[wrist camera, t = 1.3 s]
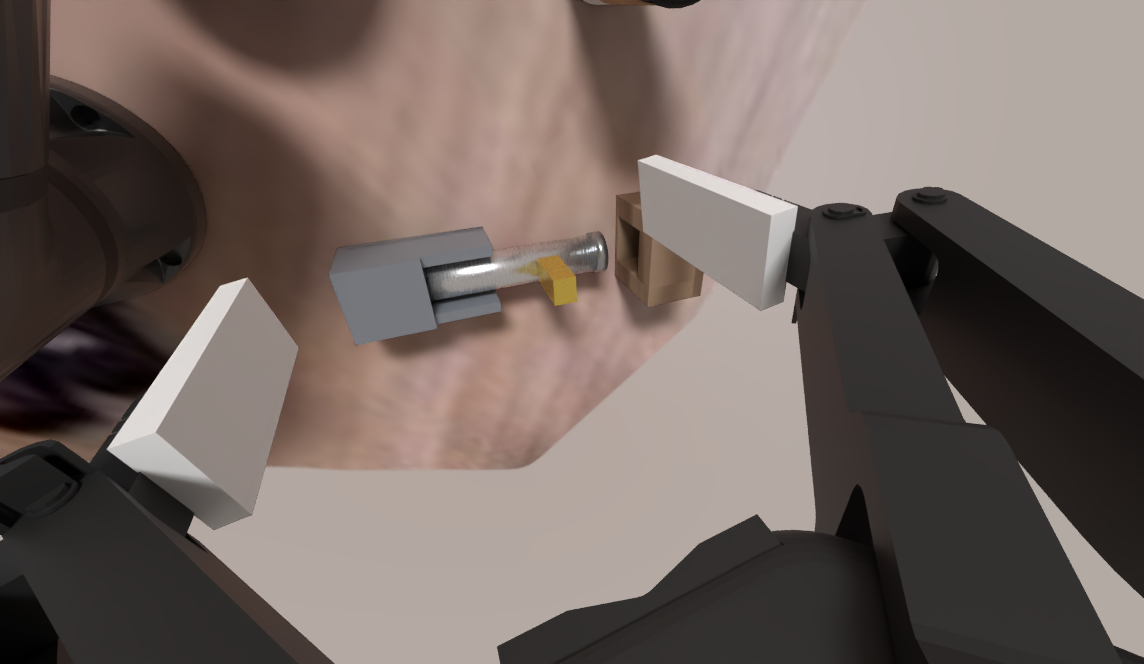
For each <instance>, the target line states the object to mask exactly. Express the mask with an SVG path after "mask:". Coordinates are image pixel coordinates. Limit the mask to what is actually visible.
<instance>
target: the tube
mask: <svg viewBox="0 0 1144 664" xmlns="http://www.w3.org/2000/svg"><path fill="white" fill-rule="evenodd" d="M607 266H608V249H607V245H606V241H605V239H604V237H603V235H602V233H601V232H599V231H597V232H591V233H587V234H586V235H585V236H579V237H573V238H567V239H561V240H555V241H548V242H542V243H536V244H530V245H524V246H518V247H512V248H505V249H499V250H493V256H490V257H484V258H478V259H472V260H466V261H460V262H454V263H448V264H442V265H436V266H430V267H424V268H423V272H424V276H425V280H426V284H427V288H428V292H429V296H430V300H431V301H435V300H441V299H446V298H451V297H457V296H462V295H467V294H473V293H478V292H484V291H489V290H494V289H500V288H505V287H510V286H516V285H521V284H527V283H532V282H537V281H539V282H540V284H541V285H542V287H543V288H544V290H545V291H546V293H547V294H548V296H549V298H550V299H551V301H552V302H553V304H554V305H555V306H557V305H562V304H567V303H572V302H577V291H576V276H575V274H580V273H586V272H591V271H592V272H593V273H597V272H602V271H605V270H606V269H607Z"/></svg>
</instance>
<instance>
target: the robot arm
mask: <svg viewBox="0 0 1144 664" xmlns="http://www.w3.org/2000/svg"><path fill="white" fill-rule="evenodd" d="M638 171H639V184H640V197H641V209H642V222H643V232H644V233H646V234H647V235H649V236H650V237H652V238H653V239H655V240H656V241H658V242H659V243H661V244H662V245H664V246H665V247H667V248H668V249H670V250H671V251H673V252H674V253H676V254H677V255H678V256H680V257H681V258H683V259H684V260H686V261H687V262H689V263H690V264H692V265H693V266H695V267H696V268H698V269H699V270H701V271H702V272H704V273H705V274H707V275H708V276H710V277H711V278H712V279H714V280H715V281H717V282H718V283H720V284H721V285H723V286H724V287H726V288H727V289H729V290H730V291H732V292H733V293H735V294H736V295H738V296H739V297H741V298H742V299H744V300H745V301H747V302H748V303H749V304H751V305H752V306H754V307H756V308H757V309H759V310H760V311H762V310H764V309H767V308H769V307H772V306H774V305H777V304H779V303H781V302H783V301H784V295H785V289H786V282H788V283H790V284H791V285H793V286H795V287H797V288H798V289H797V294H796V300H795V306H794V312H793V318H792V323H796V321H798V332H799V343H800V353H801V363H802V373H803V384H804V393H805V404H806V414H807V425H808V435H809V445H810V455H811V466H812V476H813V485H814V496H815V508H816V524H815V532H813V531H801V530H781V531H772V532H771V531H770V530H769V528H768V527H767V526H766V525H765V523H764V522H763V521H762V520H761V519H760V517H759V516H758V515H755V516H753V517H751V518H749V519H747V520H745V521H743V522H741V523H739V524H737V525H735V526H733V527H731V528H729V529H727V530H725V531H723V532H721V533H719V534H717V535H715V536H713V537H711V538H710V539H707V540H706V541H704V542H702V543H700V544H699V545H697V546H696V548H694V549H693V550H692V551H691V552H690V553H689V554H688V555H687V556H686V557H685V558H684V559H683V560H682V561H681V562H680V563H679V564H678V565H677V566H676V567H675V568H674V569H673V570H672V571H671V572H670V573H668V575H666V576H665V577H664V578H663V579H662V580H661V581H660V582H659V583H658V584H657V585H656V586H655V587H654V588H653V589H652V590H651V591H650V592H648V593H647V594H645V595H643V596H641V597H638V598H632V599H627V600H622V601H617V602H611V603H606V604H601V605H596V606H591V607H585V608H580V609H574V610H569V611H566V612H564V613H562V614H560V615H558V616H556V617H554V618H552V619H550V620H548V621H546V622H544V623H542V624H540V625H539V626H536V627H535V628H532V629H531V630H529V631H527V632H525V633H523V634H521V635H519V636H517V637H515V638H513V639H511V640H509V641H507V642H505V643H503V644H501V645H499V646H497V649H498V654H499V659H500V664H1144V658H1143V657H1141V656H1138V655H1136V654H1133V653H1131V652H1128V651H1126V650H1124V649H1121V648H1119V647H1116V646H1114V645H1113V644H1112V642H1111V640H1110V638H1109V636H1108V635H1107V633H1106V631H1105V629H1104V627H1103V625H1102V623H1101V621H1100V619H1099V617H1098V615H1097V613H1096V611H1095V609H1094V607H1093V606H1092V604H1091V602H1090V600H1089V598H1088V596H1087V594H1086V592H1085V590H1084V588H1083V586H1082V584H1081V582H1080V580H1079V579H1078V577H1077V575H1076V573H1075V571H1074V569H1073V567H1072V565H1071V564H1070V562H1069V559H1068V557H1067V556H1066V553H1065V552H1064V550H1063V548H1062V546H1061V544H1060V542H1059V540H1058V538H1057V536H1056V534H1055V533H1054V531H1053V528H1052V526H1051V525H1050V523H1049V521H1048V519H1047V517H1046V515H1045V513H1044V511H1043V509H1042V507H1041V505H1040V503H1039V501H1038V499H1037V498H1036V496H1035V494H1034V492H1033V490H1032V488H1031V486H1030V484H1029V482H1028V480H1027V478H1026V477H1025V474H1024V472H1023V471H1022V469H1021V467H1020V465H1019V463H1020V464H1021V465H1022V466H1023V467H1024V469H1025V470H1026V471H1027V472H1028V473H1029V474H1030V475H1031V477H1032V478H1033V479H1034V480H1035V481H1036V483H1037V484H1038V485H1039V486H1040V487H1041V488H1042V489H1043V491H1044V492H1045V493H1046V494H1047V495H1048V497H1050V499H1051V500H1052V501H1053V502H1054V504H1055V505H1056V506H1057V507H1058V508H1059V509H1060V511H1061V512H1062V513H1063V514H1064V515H1065V516H1066V517H1067V519H1068V520H1069V521H1070V522H1071V523H1072V525H1073V526H1074V527H1075V528H1076V529H1077V530H1078V532H1079V533H1080V534H1081V535H1082V536H1083V537H1084V538H1085V539H1086V540H1087V542H1089V544H1090V545H1091V546H1092V547H1093V548H1094V549H1095V550H1096V551H1097V552H1098V553H1099V554H1100V556H1101V557H1102V558H1103V559H1104V560H1105V561H1106V562H1107V563H1108V564H1109V565H1110V566H1111V567H1112V568H1113V570H1114V571H1115V572H1117V573H1118V574H1119V575H1120V576H1121V577H1122V578H1123V579H1124V580H1125V581H1126V582H1127V583H1128V584H1129V585H1130V586H1131V587H1132V588H1133V589H1134V590H1136V591H1137V592H1138V593H1139V594H1140V595H1141V596H1142V597H1143V598H1144V299H1142V298H1140V297H1139V296H1137V295H1135V294H1133V293H1132V292H1130V291H1128V290H1126V289H1125V288H1123V287H1121V286H1119V285H1118V284H1116V283H1114V282H1112V281H1111V280H1109V279H1107V278H1105V277H1104V276H1102V275H1100V274H1099V273H1097V272H1095V271H1093V270H1092V269H1090V268H1088V267H1086V266H1085V265H1083V264H1081V263H1079V262H1078V261H1076V260H1074V259H1072V258H1071V257H1069V256H1067V255H1065V254H1063V253H1061V252H1060V251H1058V250H1057V249H1055V248H1053V247H1051V246H1050V245H1048V244H1046V243H1044V242H1042V241H1041V240H1039V239H1037V238H1035V237H1034V236H1032V235H1030V234H1029V233H1027V232H1025V231H1023V230H1022V229H1020V228H1018V227H1016V226H1015V225H1013V224H1011V223H1009V222H1008V221H1006V220H1004V219H1002V218H1001V217H999V216H997V215H995V214H994V213H992V212H990V211H988V210H987V209H985V208H983V207H982V206H980V205H978V204H976V203H974V202H973V201H971V200H969V199H968V198H966V197H964V196H962V195H961V194H958V193H955V192H953V191H948V190H943V189H942V188H939V187H934V188H933V187H924V188H920V189H912V190H907V191H904V192H902V193H899V194H898V196H897V198H896V201H895V205H894V208H893V211H892V212H889V213H883V214H877V215H872V213H871V212H870V211H869V210H868V209H867V208H864V207H862V206H859V205H853V204H848V203H834V204H826V205H822V206H818V207H816V208H815V209H813V210H811V209H808V208H805V207H803V206H800V205H797V204H794V203H792V202H789V201H786V200H783V201H782V199H781V198H778V197H775V196H773V197H772V196H771V195H769V194H767V193H764V192H761V191H758V190H752V189H749V188H747V187H744V186H741V185H738V184H736V183H733V182H730V181H727V180H725V179H722V178H719V177H716V176H714V175H711V174H708V173H705V172H703V171H700V170H697V169H694V168H692V167H689V166H686V165H683V164H681V163H678V162H675V161H673V160H670V159H667V158H664V157H662V156H659V155H654V156H650V157H647V158H644V159H640V160H638ZM205 232H206V210H205V205H204V201H203V198H202V195H201V192H200V189H199V187H198V185H197V183H196V180H195V179H194V177H193V175H192V173H191V172H190V170H189V168H188V167H187V165H186V164H185V163H184V161H183V160H182V158H181V157H180V156H179V155H178V153H177V152H176V151H175V150H174V149H173V148H172V147H171V145H170V144H169V143H168V142H167V141H166V140H165V139H164V138H163V137H162V136H161V135H160V134H159V133H157V132H156V131H155V130H154V129H153V128H152V127H150V126H149V125H148V124H147V123H145V122H144V121H143V120H142V119H140V118H139V117H137V116H136V115H135V114H133V113H132V112H130V111H129V110H127V109H126V108H124V107H123V106H121V105H119V104H118V103H116V102H114V101H112V100H111V99H109V98H107V97H105V96H103V95H101V94H99V93H97V92H95V91H93V90H91V89H89V88H86V87H84V86H82V85H79V84H76V83H74V82H71V81H68V80H65V79H63V78H60V77H56V76H53V75H50V0H0V381H1V380H3V379H4V378H5V377H6V376H8V375H9V374H10V373H11V372H13V371H14V370H15V369H16V368H17V367H19V366H20V365H21V364H22V363H24V362H25V361H26V360H27V359H29V358H30V357H31V356H32V355H34V354H35V353H36V352H37V351H38V350H40V349H41V348H42V347H43V346H45V345H46V344H47V343H48V342H50V341H51V340H52V339H53V338H55V337H56V336H57V335H58V334H60V333H61V332H62V331H63V330H64V329H66V328H67V327H68V326H69V325H71V324H72V323H73V322H74V321H76V320H77V319H78V318H79V317H81V316H82V315H83V314H84V313H86V312H87V311H88V310H89V309H90V308H93V307H97V306H101V305H105V304H110V303H114V302H118V301H122V300H127V299H131V298H135V297H138V296H141V295H144V294H147V293H149V292H152V291H154V290H156V289H158V288H160V287H162V286H163V285H165V284H167V283H168V282H170V281H171V280H172V279H174V278H175V277H176V276H177V275H178V274H179V273H180V272H182V271H183V270H184V269H185V268H186V267H187V266H188V265H189V264H190V263H191V262H192V260H193V259H194V258H195V257H196V255H197V253H198V252H199V250H200V248H201V246H202V243H203V240H204V237H205ZM937 271H938V272H937ZM936 273H937V276H936ZM298 349H299V347H298V346H297V345H296V343H295V342H294V341H293V339H292V338H291V336H290V335H289V334H288V332H287V331H286V330H285V328H284V327H283V325H282V324H281V323H280V321H279V320H278V319H277V317H276V316H275V314H274V313H273V312H272V310H271V309H270V307H269V306H268V305H267V303H266V302H265V301H264V299H263V298H262V296H261V295H260V294H259V292H258V291H257V290H256V288H255V287H254V285H253V284H252V283H251V281H250V280H249V279H248V278H244V279H241V280H238V281H234V282H231V283H228V284H224V285H221V286H220V287H219V288H218V290H217V291H216V292H215V294H214V295H213V297H212V298H211V300H210V301H209V303H208V304H207V305H206V307H205V308H204V310H203V311H202V313H201V314H200V316H199V317H198V318H197V320H196V321H195V323H194V324H193V326H192V327H191V329H190V330H189V331H188V333H187V334H186V336H185V337H184V339H183V340H182V341H181V343H180V344H179V346H178V347H177V349H176V350H175V352H174V353H173V354H172V356H171V357H170V359H169V360H168V362H167V363H166V365H165V366H164V367H163V369H162V370H161V372H160V373H159V375H158V376H157V378H156V379H155V380H154V382H153V383H152V385H151V386H150V388H149V389H148V390H146V391H145V392H144V393H143V394H142V395H141V396H140V397H138V398H137V399H136V400H135V401H134V402H133V403H132V404H131V406H130V407H129V408H128V410H127V411H126V413H125V414H124V415H123V417H122V418H121V419H122V421H120V422H118V424H117V425H116V427H115V428H114V429H113V431H112V433H113V434H112V435H109V436H108V438H107V439H106V441H105V442H104V443H103V445H102V446H101V448H100V449H99V450H98V452H97V453H96V455H95V456H94V458H93V459H92V460H91V462H90V463H88V462H87V461H85V460H84V459H83V458H81V457H80V456H78V455H77V454H75V453H74V452H73V451H71V450H70V449H68V448H67V447H66V446H64V445H63V444H61V443H60V442H58V441H54V440H46V441H41V442H36V443H34V444H31V445H29V446H26V447H23V448H21V449H18V450H16V451H14V452H13V453H11V454H9V455H7V456H5V457H3V458H1V459H0V535H2V537H3V540H1V541H0V664H334V663H333V662H332V661H331V660H330V659H329V658H328V657H326V656H325V655H324V654H323V653H322V652H321V651H320V650H319V649H318V648H317V647H316V646H314V645H313V644H312V643H311V642H310V641H309V640H308V639H307V638H306V637H304V636H303V635H302V634H301V633H300V632H299V631H298V630H297V629H296V628H295V627H293V626H292V625H291V624H290V623H289V622H288V621H287V620H286V619H284V618H283V617H282V616H281V615H280V614H279V613H278V612H277V611H276V610H275V609H273V608H272V607H271V606H270V605H269V604H268V603H267V602H266V601H265V600H264V599H262V598H261V597H260V596H259V595H258V594H257V593H256V592H255V591H253V589H251V588H250V587H249V586H248V585H247V584H246V583H245V582H244V581H242V580H241V579H240V578H239V577H238V576H237V575H236V574H235V573H234V572H232V571H231V570H230V569H229V568H228V567H227V566H226V565H225V564H224V563H223V562H222V561H220V560H219V559H218V558H217V557H216V556H215V555H214V554H213V553H212V552H210V551H209V550H208V549H207V548H206V547H205V546H204V545H203V544H202V543H201V542H199V541H198V540H197V539H195V538H194V537H193V536H191V535H190V534H188V533H187V531H188V529H189V526H190V524H191V521H192V519H193V516H196V517H197V518H198V519H200V520H201V521H203V522H204V523H205V524H206V525H208V526H209V527H210V528H212V529H213V530H215V529H218V528H220V527H223V526H225V525H228V524H230V523H233V522H235V521H238V520H240V519H243V518H245V517H248V516H250V515H252V513H253V510H254V506H255V503H256V499H257V496H258V492H259V488H260V484H261V481H262V478H263V474H264V470H265V467H266V463H267V460H268V456H269V453H270V449H271V445H272V442H273V438H274V435H275V431H276V428H277V424H278V420H279V417H280V413H281V410H282V406H283V402H284V399H285V395H286V392H287V388H288V385H289V381H290V377H291V374H292V370H293V367H294V363H295V360H296V356H297V352H298ZM944 375H945V376H944ZM945 377H946V378H947V379H948V380H949V381H950V382H951V384H952V385H953V386H954V387H955V388H956V389H957V391H958V392H959V393H960V394H961V395H962V396H963V398H964V399H965V400H966V401H967V402H968V403H969V405H970V406H971V407H972V408H973V409H974V410H975V412H976V413H977V414H978V415H979V416H980V417H981V418H982V420H983V421H984V422H985V423H986V424H987V425H981V424H971V423H966V422H965V420H964V419H963V416H962V414H961V412H960V410H959V407H958V405H957V403H956V401H955V399H954V396H953V394H952V392H951V389H950V387H949V385H948V383H947V381H946V378H945ZM1018 462H1019V463H1018Z"/></svg>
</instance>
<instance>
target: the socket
mask: <svg viewBox="0 0 1144 664" xmlns="http://www.w3.org/2000/svg"><path fill="white" fill-rule="evenodd" d="M703 273H704V272H702V271H701V270H699V269H698V268H696V267H695V266H693V265H692V264H690V263H689V262H687V261H686V260H684V259H683V258H681V257H680V256H678V255H677V254H676V253H674V252H673V251H671V250H670V249H668V248H667V247H665V246H664V245H662V244H661V243H659V242H658V241H656V240H655V239H653V238H652V237H650V236H649V235H647V234H646V233H644V232H643V222H642V209H641V197H640V192H636V193H629V194H622V195H616V245H615V275H616V276H617V277H618V278H619V279H620V280H621V281H622V282H623V283H624V284H625V285H626V286H627V287H628V288H629V289H630V290H631V291H632V292H633V293H634V294H635V295H636V296H637V297H638V298H639V299H640V300H641V301H642V302H643V303H644V304H645V305H646V306H647V307H650V306H655V305H660V304H664V303H669V302H673V301H678V300H683V299H687V298H692V297H697V296H700V294H701V287H702V280H703Z"/></svg>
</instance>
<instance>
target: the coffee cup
mask: <svg viewBox="0 0 1144 664" xmlns="http://www.w3.org/2000/svg"><path fill="white" fill-rule="evenodd" d="M583 1H585V2H587V3H589V4H594V5H606V4H611V5H657V6H661V7H665V8H683V7H686V6H690V5H693V4H695V3H696V2H699V1H700V0H583Z"/></svg>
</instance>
